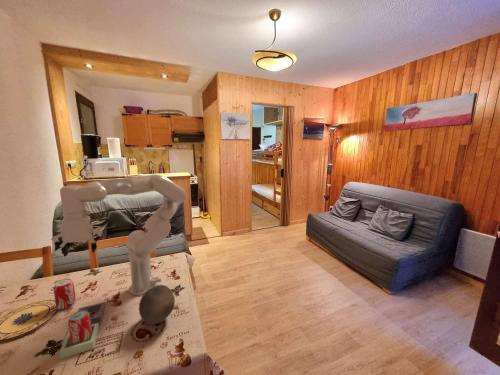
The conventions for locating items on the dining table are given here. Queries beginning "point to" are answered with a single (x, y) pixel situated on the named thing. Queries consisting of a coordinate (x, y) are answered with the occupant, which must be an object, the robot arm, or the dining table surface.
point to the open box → (90, 344)
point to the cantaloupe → (156, 304)
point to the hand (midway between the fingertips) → (80, 252)
